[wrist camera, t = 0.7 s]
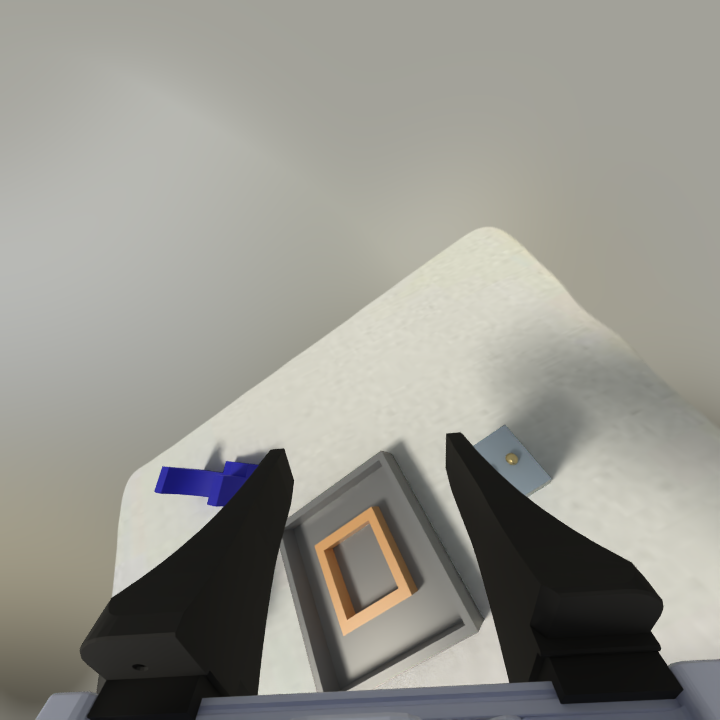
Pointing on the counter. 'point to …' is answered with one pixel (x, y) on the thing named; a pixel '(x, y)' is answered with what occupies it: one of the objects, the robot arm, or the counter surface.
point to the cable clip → (205, 482)
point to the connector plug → (513, 461)
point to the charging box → (372, 581)
